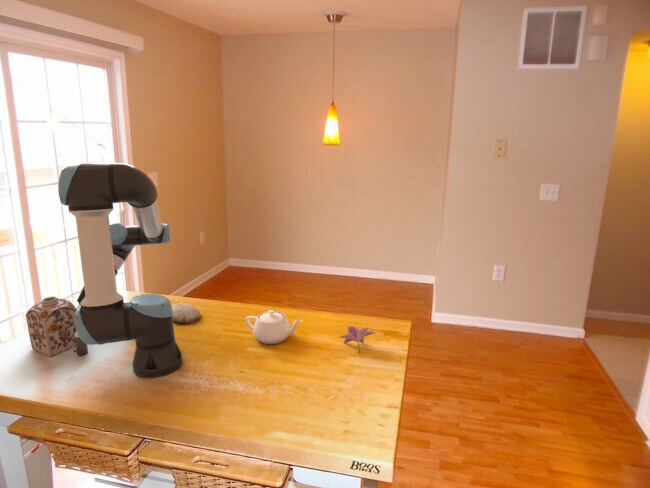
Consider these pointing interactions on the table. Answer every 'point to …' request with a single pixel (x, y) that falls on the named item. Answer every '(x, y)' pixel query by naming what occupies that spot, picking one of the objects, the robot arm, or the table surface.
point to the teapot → (271, 327)
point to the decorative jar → (52, 325)
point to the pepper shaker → (80, 346)
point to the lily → (356, 335)
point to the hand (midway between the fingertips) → (73, 322)
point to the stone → (184, 313)
